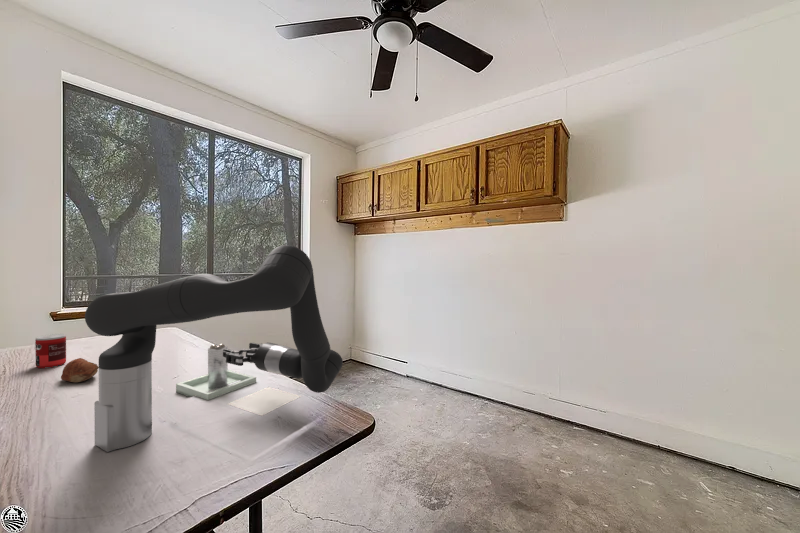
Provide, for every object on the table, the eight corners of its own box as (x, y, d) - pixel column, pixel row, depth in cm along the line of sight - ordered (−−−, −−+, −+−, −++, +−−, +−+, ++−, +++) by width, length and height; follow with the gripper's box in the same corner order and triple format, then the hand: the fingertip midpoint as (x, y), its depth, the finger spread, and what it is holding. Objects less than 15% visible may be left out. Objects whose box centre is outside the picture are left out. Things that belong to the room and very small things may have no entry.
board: (261, 419, 84) (261, 415, 84) (226, 407, 91) (226, 403, 91) (301, 399, 96) (301, 396, 96) (268, 390, 103) (268, 386, 103)
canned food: (42, 363, 125) (42, 334, 125) (70, 361, 128) (70, 333, 128) (30, 369, 118) (30, 339, 118) (60, 367, 122) (60, 337, 121)
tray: (207, 403, 93) (207, 394, 93) (176, 392, 100) (176, 383, 100) (256, 384, 107) (256, 377, 107) (225, 376, 115) (225, 368, 115)
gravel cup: (214, 390, 100) (214, 347, 100) (204, 386, 103) (204, 345, 102) (231, 384, 105) (231, 343, 105) (220, 381, 107) (220, 341, 107)
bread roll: (56, 368, 110) (76, 343, 111) (86, 372, 117) (105, 349, 118) (54, 392, 102) (76, 365, 103) (87, 395, 108) (107, 370, 109)
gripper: (296, 339, 96) (258, 332, 104) (254, 351, 83) (214, 341, 91) (295, 365, 96) (257, 355, 104) (254, 380, 84) (214, 368, 91)
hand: (237, 349), depth 97 cm, fingers open, 8 cm apart
